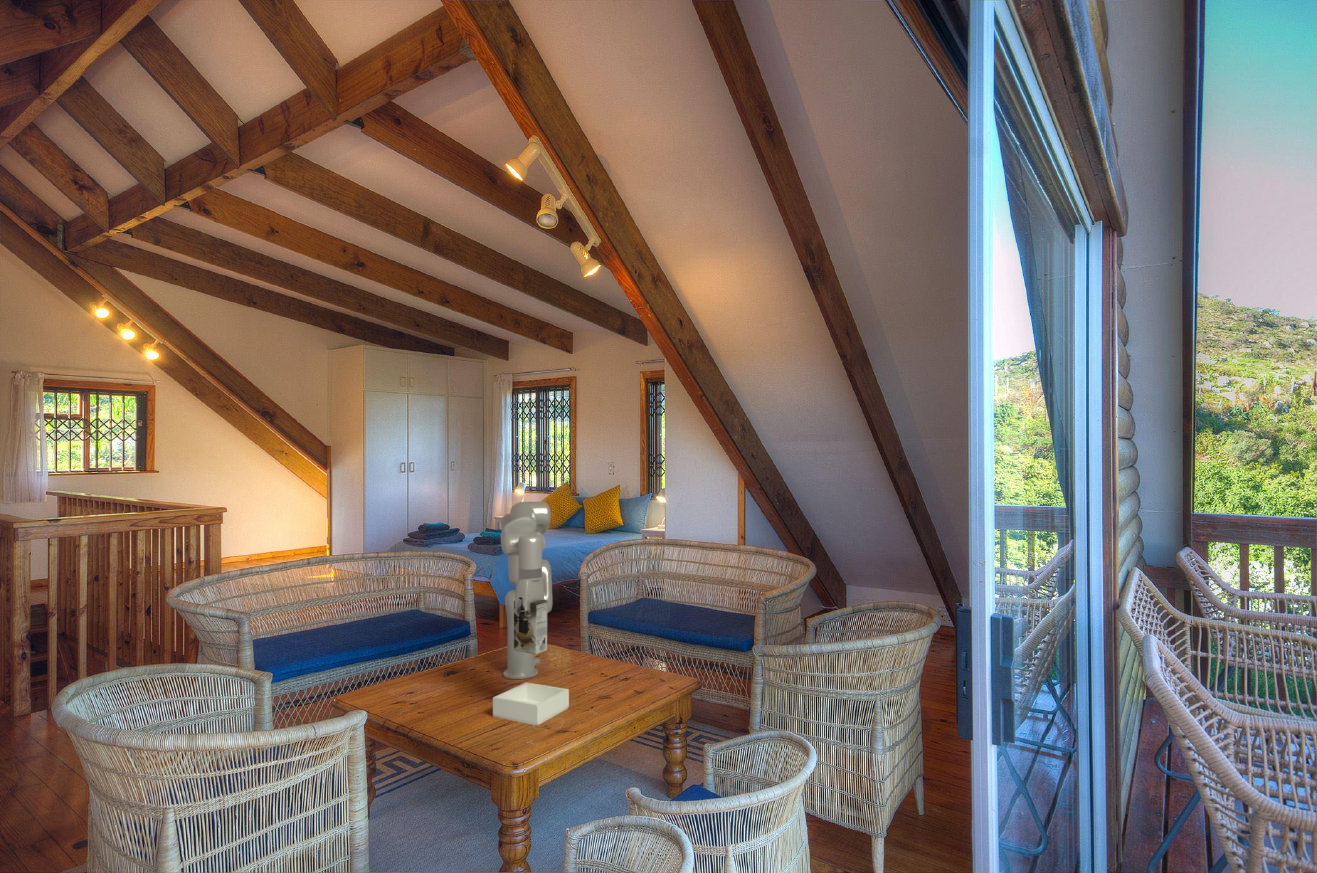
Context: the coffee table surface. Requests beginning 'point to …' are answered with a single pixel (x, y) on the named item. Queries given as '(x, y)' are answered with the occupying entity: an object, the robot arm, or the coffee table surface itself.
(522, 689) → the bin
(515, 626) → the coffee box
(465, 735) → the coffee table surface
